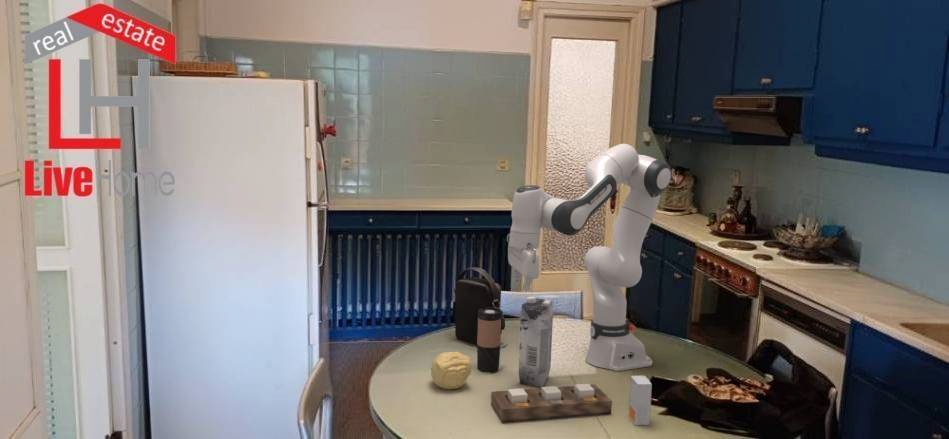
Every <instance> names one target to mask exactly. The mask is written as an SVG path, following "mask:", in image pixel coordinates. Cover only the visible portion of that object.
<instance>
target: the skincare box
mask: <svg viewBox="0 0 949 439" xmlns="http://www.w3.org/2000/svg"><path fill="white" fill-rule="evenodd" d="M652 385H653V384H652V383H651V381H650V380H649V378H647V376H646V375H631V376H630V386H629V387H630V390H629V402H628V417H629V418H630V419H631V421H632V422H633V425H635V426H647V425H648V426H649V425H650V421H651V420H650V419H651V404H652V390H653V388H652V387H653V386H652Z"/></svg>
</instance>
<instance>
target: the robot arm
mask: <svg viewBox="0 0 949 439" xmlns="http://www.w3.org/2000/svg"><path fill="white" fill-rule="evenodd" d="M672 174H673V172H672V169H671V166H670V165H669V163H667V162H665V161H663V160H661V159H656V158H655V157H651V156H648V155H645V154H639V153H638V152H637V150H636V149H635V147H633V146H632V145H630V144H627V143H620V144H619V143H618V144H617V145H614V146H612V147H610V148H608V149H607V150H604V151H603V152H601V153H600V154H599V155H597V156H596V157H594V158H593V159H592V160H590V161H589V163H588V164H587V165H586V166H585V170H584V180H585V182H586V185H587V186H588V188H589V189H587V190H586V191H585V192H584V194H583V193H582V195H581V196H580V197H579V198H577V199H576V198H575V199H564V198H559V197H556V196H555V197H554V196H553V195H551V194H548V193H547V192H545V191H544V190H543V189H542V188H541V186H539V185H534V184H533V185H532V184H531V185H530V184H529V185H528V184H527V185H524V186H523V185H522V186H520V187H518V188H516V189H515V192H514V193H513V194H514V195H513V199H512V204H511V205H512V206H511V220H512V222H511V226H510V232H509V234H507V236H506V241H507V243H508V245H507V246H508V247H507V260H508V264H509V265H510V266H511V267H512V268H513V269H512V271H513V281H514V283H515V284H521V282H522V277H521V276H523V280H524V281H523V282H524V283H523V284H522V290H523V291H524V292H530V291H531V285H532V282H533V280H536V279H538V278H539V275H540V255H539V252H538V251H537V250H536V249H539V248H540V243H541V232H542V230H541V229H542V228H545V229H547V230H551V231H555V232H557V233H560V234H562V235H564V236H568V237H569V236H575V235H577V234H578V233H580V232H581V231H582V230H583V228H584V227H585V226H586V225H587V223H588V222H589V220H590V218H591V217H592V216H593V215H594V214H595V213H596V212H597V211H598V210H599V209H600V208H601V207H602V206H604V204H605V203H606V202H607V201H609V199H611V197H612V196H613V195H614V194H615V193H616V190H617V187H618V185H619V184H623V185H626V186H627V187H629V188H630V191H629V192H628V194H627V196H626V197H625V199H624V200H623V201H624V202H623V203H622V205H621V207H620V209H619V211H618V213H617V215H616V218H615V219H614V222H613V224H612V227H611V231H612V234H613V235H612V236H613V238H612V243H611V244H612V246H611V247H609V246H603V245H599V246H593V247H591V248H590V249H588V250H587V252H586V253H585V255H584V266H585V268H586V270H587V272H588V275H589V280H590V285H591V291H592V301H593V302H592V319H591V320H590V329H589V330H590V340H589V346H588V351H587V353H586V356H585V362H587V363H588V364H590V365H591V366H594V367H598V368H602V369H608V370H611V371H615V372H621V371H627V370H633V369H640V368H641V369H642V368H646V367H651V366H653V360H652V358H650V356H648V355H647V352H646V348H645V344H644V343H643V342H642V341H641V340H639V339H638V337H636V336H635V335H633V333H631V332H635V331H636V329H637V328H636V326H635V325H633V324H630V323H629V322H627V321H626V319H627V318H626V317H627V306H628V305H627V298H626V296H625V293H624V291H623V289H622V288H632V287H634V286H636V285H637V284H638V283H639V282H640V281H641V278H642V274H643V268H642V265H641V252H642V251H641V250H642V247H643V246H642V245H643V242H644V240H645V237H646V235H647V233H648V230H649V229H650V226H651V224H652V221H653V220H654V218H655V215H656V212H657V209H658V206H659V202H660V198H661V194H662V193H663V192H664V191H666V190H667V188H668V187H669V185H670V183H671V182H672V176H673V175H672Z"/></svg>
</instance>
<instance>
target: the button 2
mask: <svg viewBox="0 0 949 439" xmlns="http://www.w3.org/2000/svg"><path fill="white" fill-rule="evenodd" d="M590 385H591V384H589V383H581V384H574V385H573V386H574V395H575V396H576V397H577V398H578V399H582V398H592V397H594V389H593V388H592V387H591V386H590Z"/></svg>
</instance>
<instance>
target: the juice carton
mask: <svg viewBox="0 0 949 439" xmlns="http://www.w3.org/2000/svg"><path fill="white" fill-rule="evenodd" d="M553 302H554V301H553V300H550V299H545V298H543V299H542V298H537V297H536V296H527V297H526V302H524V303H523V304H521V310H520V319H519V320H520V323H519V324H520V325H519V326H520V327H519V350H518V352H519V353H518V354H519V355H518V376H519V377H518V378H519V383H520V384H523V385H527V386H529V385H530V386H535V387H539V388H542V387H544V384H545V382H546V381H547V379H548V378H549V375H550V371H551V363H552V343H553V341H552V340H553V326H554V325H553V321H554V319H553V317H554V309H553V308H554V306H553Z"/></svg>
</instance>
